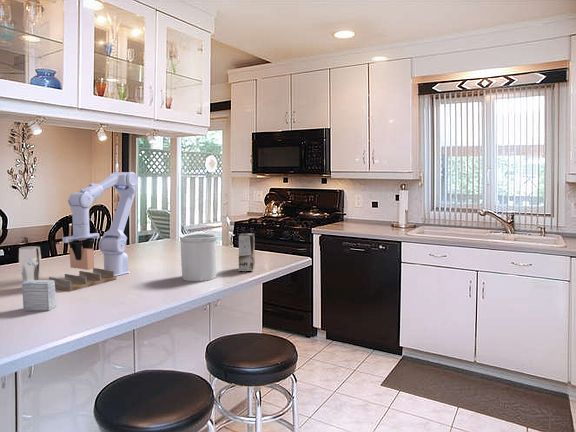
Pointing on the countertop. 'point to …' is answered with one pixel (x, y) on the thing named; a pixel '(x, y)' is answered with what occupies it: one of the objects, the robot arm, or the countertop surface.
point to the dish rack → (84, 279)
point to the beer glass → (30, 262)
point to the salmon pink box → (82, 259)
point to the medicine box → (39, 295)
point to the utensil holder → (198, 256)
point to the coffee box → (246, 251)
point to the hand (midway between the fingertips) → (82, 259)
